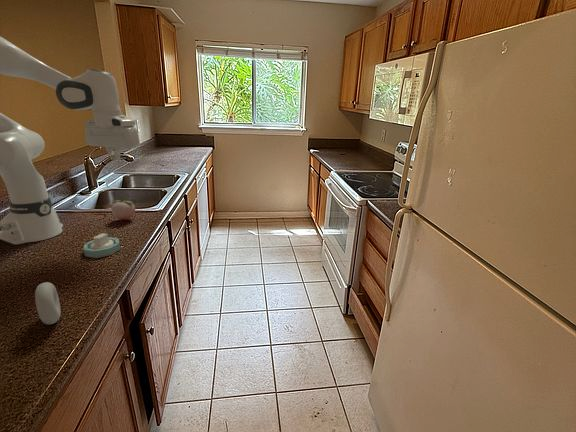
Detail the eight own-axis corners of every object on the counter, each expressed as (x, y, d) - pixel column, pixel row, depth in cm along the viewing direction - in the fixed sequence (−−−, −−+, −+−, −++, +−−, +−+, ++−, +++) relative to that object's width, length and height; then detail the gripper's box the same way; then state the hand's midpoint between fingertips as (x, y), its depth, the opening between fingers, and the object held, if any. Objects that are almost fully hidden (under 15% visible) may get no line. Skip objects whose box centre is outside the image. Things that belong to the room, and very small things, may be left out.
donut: (46, 311, 79) (35, 276, 75) (62, 307, 81) (53, 273, 77) (43, 335, 71) (31, 298, 68) (61, 330, 73) (50, 293, 69)
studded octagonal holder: (77, 255, 107) (75, 248, 106) (102, 242, 117) (101, 235, 116) (103, 259, 104) (102, 252, 104) (127, 245, 114) (125, 239, 113)
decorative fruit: (109, 224, 133) (105, 201, 129) (117, 217, 140) (113, 196, 137) (133, 223, 134) (129, 201, 130) (139, 217, 141) (135, 195, 138)
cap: (86, 250, 108) (83, 238, 106) (102, 242, 114) (99, 230, 113) (103, 253, 106) (101, 241, 105) (118, 244, 113) (116, 233, 111)
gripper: (77, 119, 110) (85, 159, 115) (126, 121, 106) (133, 162, 110) (91, 118, 116) (98, 156, 121) (139, 120, 111) (144, 159, 116)
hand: (115, 159), depth 115 cm, fingers closed
